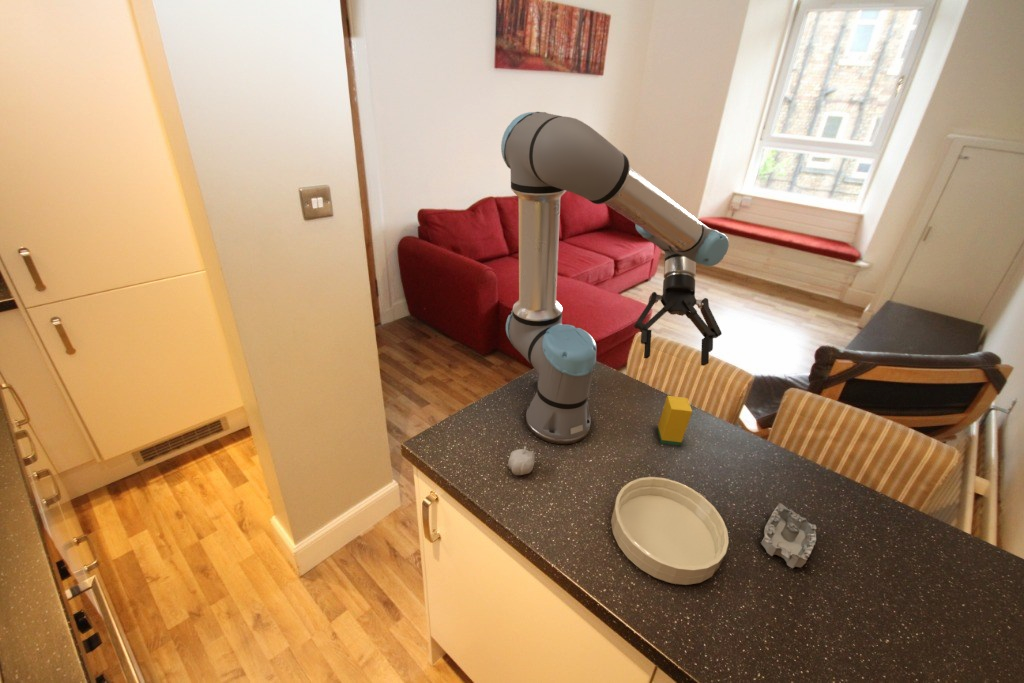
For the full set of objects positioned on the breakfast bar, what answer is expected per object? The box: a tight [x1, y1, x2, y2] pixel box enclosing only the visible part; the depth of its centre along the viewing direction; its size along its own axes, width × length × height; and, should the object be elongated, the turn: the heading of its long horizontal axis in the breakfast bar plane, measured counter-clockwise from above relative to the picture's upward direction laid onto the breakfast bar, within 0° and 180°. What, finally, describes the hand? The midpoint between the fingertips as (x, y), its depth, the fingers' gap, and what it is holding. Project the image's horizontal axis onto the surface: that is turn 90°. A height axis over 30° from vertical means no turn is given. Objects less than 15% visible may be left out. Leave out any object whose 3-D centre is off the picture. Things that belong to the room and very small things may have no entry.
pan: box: [610, 476, 730, 586], centre depth 80 cm, size 19×19×4 cm
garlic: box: [507, 445, 536, 476], centre depth 91 cm, size 6×5×5 cm
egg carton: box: [760, 502, 817, 569], centre depth 80 cm, size 11×8×4 cm
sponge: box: [656, 395, 693, 447], centre depth 102 cm, size 5×4×10 cm
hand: (675, 360), depth 106 cm, fingers open, 13 cm apart
